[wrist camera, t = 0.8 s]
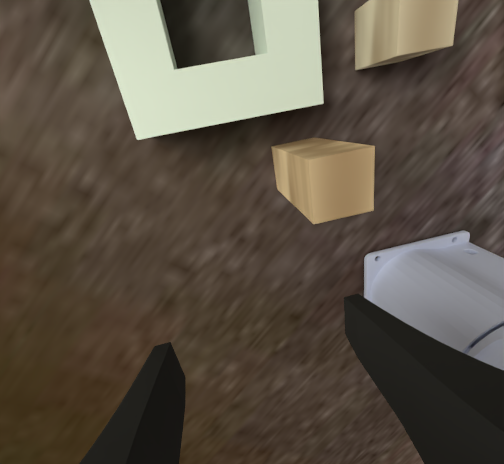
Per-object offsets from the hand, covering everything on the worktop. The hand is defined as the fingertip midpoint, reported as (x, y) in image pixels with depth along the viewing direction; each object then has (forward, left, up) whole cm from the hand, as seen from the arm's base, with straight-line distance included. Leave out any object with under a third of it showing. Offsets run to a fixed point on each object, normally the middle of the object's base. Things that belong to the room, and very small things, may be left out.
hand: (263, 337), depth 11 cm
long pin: (-5, -5, -10) cm, 12 cm away
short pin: (-11, -11, -10) cm, 19 cm away
